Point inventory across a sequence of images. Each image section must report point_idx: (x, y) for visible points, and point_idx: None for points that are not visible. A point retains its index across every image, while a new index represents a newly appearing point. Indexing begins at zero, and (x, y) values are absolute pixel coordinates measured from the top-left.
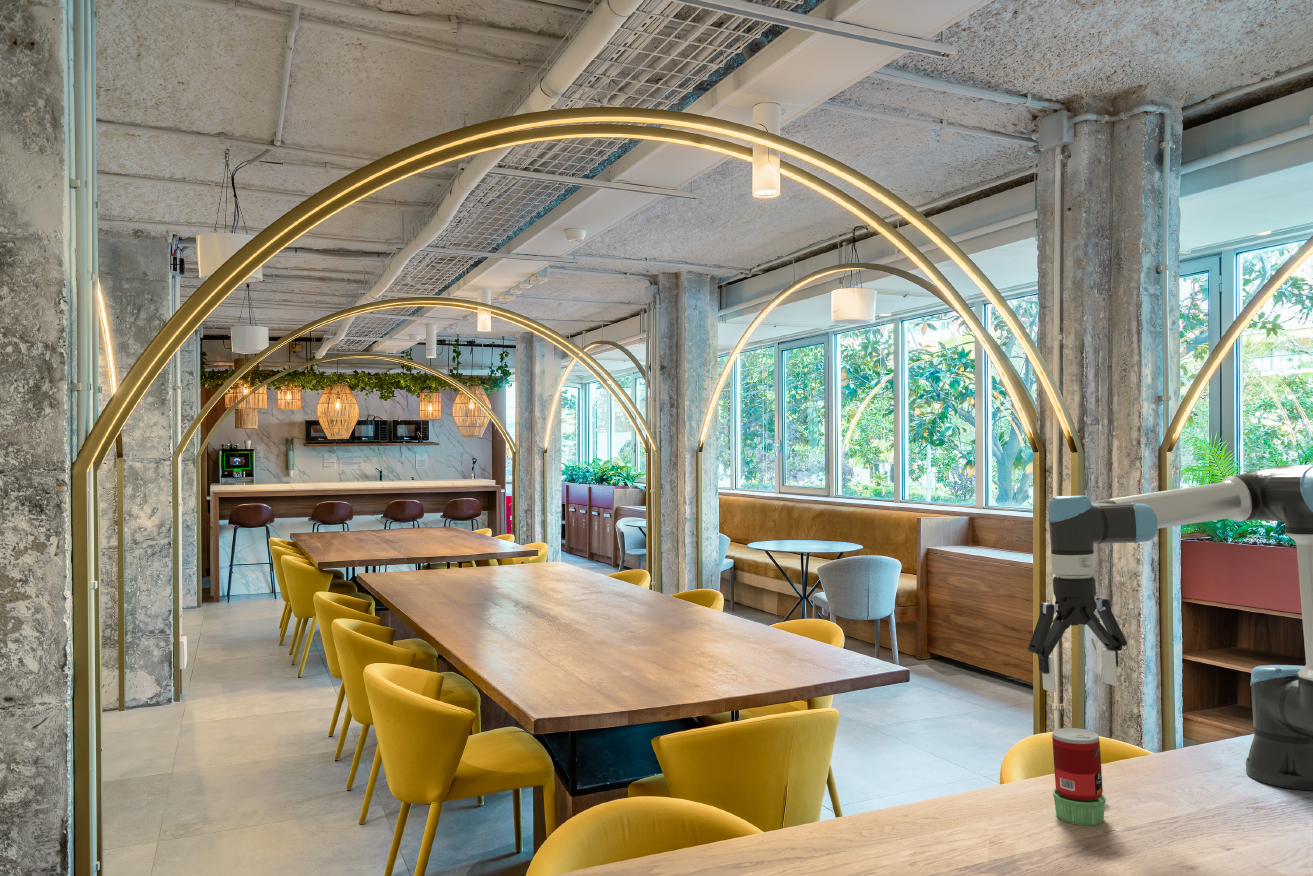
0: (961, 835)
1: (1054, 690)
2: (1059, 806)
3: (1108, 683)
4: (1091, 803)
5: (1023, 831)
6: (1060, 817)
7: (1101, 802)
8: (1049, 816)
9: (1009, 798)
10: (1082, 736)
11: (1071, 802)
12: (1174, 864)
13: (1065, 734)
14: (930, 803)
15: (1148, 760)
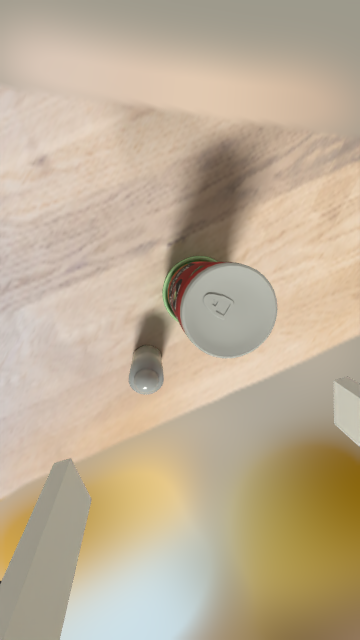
0: (356, 239)
1: (343, 382)
2: None
3: (82, 482)
4: (198, 256)
5: (282, 247)
6: None
7: (180, 261)
8: None
9: None
10: (219, 303)
11: None
12: (147, 111)
13: (244, 325)
14: (338, 339)
15: (9, 480)
